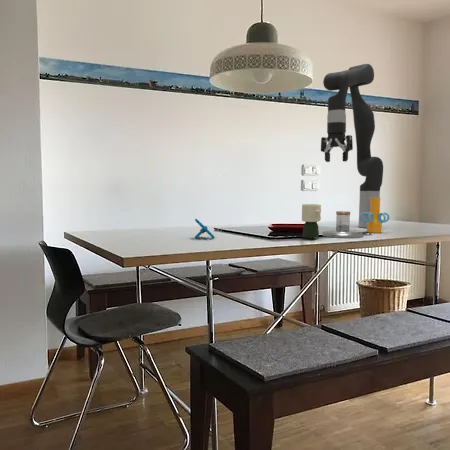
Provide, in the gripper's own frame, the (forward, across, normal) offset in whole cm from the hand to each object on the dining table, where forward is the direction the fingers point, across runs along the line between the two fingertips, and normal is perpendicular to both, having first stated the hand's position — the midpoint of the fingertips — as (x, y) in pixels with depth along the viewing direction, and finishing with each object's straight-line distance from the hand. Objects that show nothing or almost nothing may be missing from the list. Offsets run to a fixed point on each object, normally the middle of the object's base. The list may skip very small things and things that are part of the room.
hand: (336, 161), depth 205 cm
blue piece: (+29, -20, -55) cm, 65 cm away
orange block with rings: (+31, +8, +16) cm, 35 cm away
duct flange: (+30, +8, -6) cm, 31 cm away
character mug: (+30, +6, -24) cm, 39 cm away
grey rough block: (+28, +8, -6) cm, 30 cm away
